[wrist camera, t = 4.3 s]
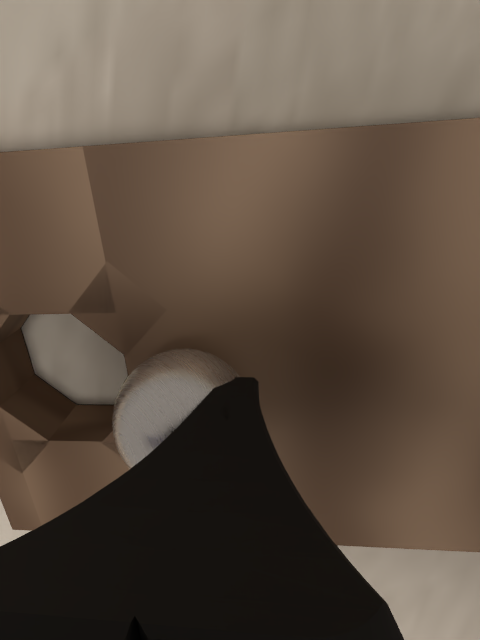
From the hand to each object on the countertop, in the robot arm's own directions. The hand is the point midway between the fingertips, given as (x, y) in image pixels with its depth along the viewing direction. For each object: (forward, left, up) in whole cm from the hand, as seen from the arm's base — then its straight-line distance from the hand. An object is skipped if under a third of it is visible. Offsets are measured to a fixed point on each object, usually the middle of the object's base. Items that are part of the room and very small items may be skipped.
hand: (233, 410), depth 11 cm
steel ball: (+1, 0, 0) cm, 1 cm away
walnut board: (0, 0, -3) cm, 3 cm away
